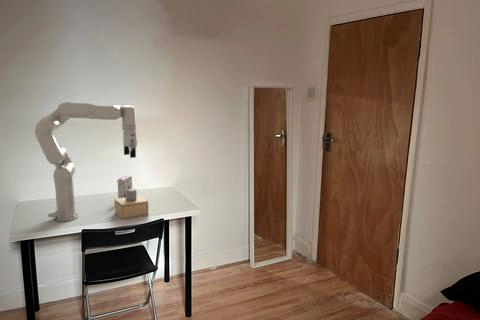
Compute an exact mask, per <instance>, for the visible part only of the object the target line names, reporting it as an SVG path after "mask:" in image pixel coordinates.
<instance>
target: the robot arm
mask: <svg viewBox="0 0 480 320" xmlns="http://www.w3.org/2000/svg"><path fill="white" fill-rule="evenodd" d="M119 118H121V127H122V141H123V142H122V143H123V144H122V145H123V155H125V156H127V155H129V158H132V159H134V158H136V157H137V146H138V141H137V132H136V128H137V127H136V126H137V125H136V122H137V121H136V108H135V106H133V105H124V106H123V105H111V106H110V105H108V106H107V105H97V104H92V103H82V102H70V101H64V102H62V103H60V104H59V105H57V108H56V109H55V110H53V112H51V113H50V114H48V115H46V116H44V117H42V118H41V119H40V120H39V121H38V122H37V123H36V126H35V129H34V135H35V138H36V141H37V142H38V144H39V146H40V149H41V150H42V152H43V154H44V156H45V159H46V160H47V162H48V163H49V164H51V165H54V167H55V170H54V171H53V175H52V176H53V177H52V178H53V181H54V188H55V201H56V210H55V211H54V212H51V213H48V214H47V217H48V218H54V220H55V221H57V222H69V221H73V220H76V219H77V218H79V214H78V213H77V212H76V206H75V203H76V202H75V191H74V183H73V176H74V174H75V172H76V168H75V164H74V163H73V161H72V159H71V157H70V154H69V152H68V150H67V149H66V148H65V147H64V146H62V145H59V144H58V142H57V139H56V138H55V136H54V134H53V132H54V131H56V130H57V129H59V128H60V127H61V126H62V125H64V124H65V123H67V121H69V120H70V119H84V120H85V119H87V120H88V119H89V120H107V121H109V120H110V121H115V120H118V119H119Z"/></svg>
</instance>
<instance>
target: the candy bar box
mask: <svg viewBox="0 0 480 320" xmlns="http://www.w3.org/2000/svg"><path fill="white" fill-rule="evenodd" d="M116 182H117V195H118V196H117V197H118V198H125V197H126V193H125V190H127V189H133V177H132V175H125V176H122V177H120V178H118V179H117V181H116ZM118 198H117V199H118Z"/></svg>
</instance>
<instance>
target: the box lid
mask: <svg viewBox="0 0 480 320" xmlns="http://www.w3.org/2000/svg"><path fill="white" fill-rule="evenodd" d="M115 201H116V202H117V203H119V204H120V205H121V206H127V205H133V204H139V203H145V202H148V203H149V200H148V199H146V198H145V197H143V196H142V195H140V194H139V195H137V200H136V201H131V202H130V201H126V197H125V198H114V202H115Z"/></svg>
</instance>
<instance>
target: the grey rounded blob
mask: <svg viewBox="0 0 480 320" xmlns="http://www.w3.org/2000/svg"><path fill="white" fill-rule="evenodd" d="M125 193H126V201H130V202H131V201H136V200H137V196H138V195H137V189H134V188H132V189H127V190H125Z"/></svg>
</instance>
